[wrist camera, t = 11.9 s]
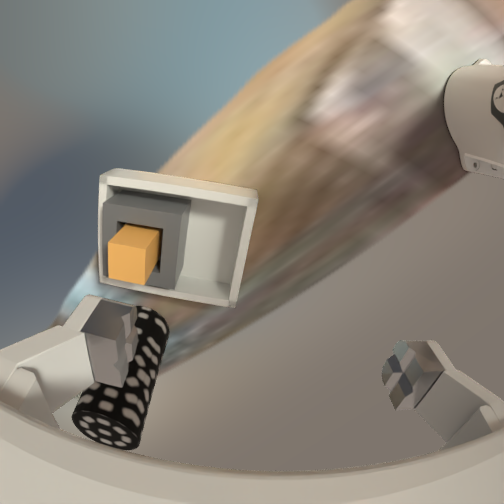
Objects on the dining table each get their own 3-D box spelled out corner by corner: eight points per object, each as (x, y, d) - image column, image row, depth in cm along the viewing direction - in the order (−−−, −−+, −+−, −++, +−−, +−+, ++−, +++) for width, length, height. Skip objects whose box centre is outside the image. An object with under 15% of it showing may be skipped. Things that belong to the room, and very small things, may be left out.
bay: (256, 189, 36) (259, 204, 30) (236, 289, 41) (235, 317, 35) (115, 168, 34) (91, 178, 28) (112, 266, 40) (93, 290, 34)
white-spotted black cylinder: (173, 315, 43) (140, 427, 25) (165, 352, 46) (138, 456, 28) (121, 299, 42) (67, 400, 24) (118, 338, 45) (76, 434, 27)
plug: (163, 224, 34) (145, 249, 27) (160, 255, 35) (144, 285, 29) (131, 219, 33) (107, 242, 27) (130, 249, 35) (108, 277, 28)
